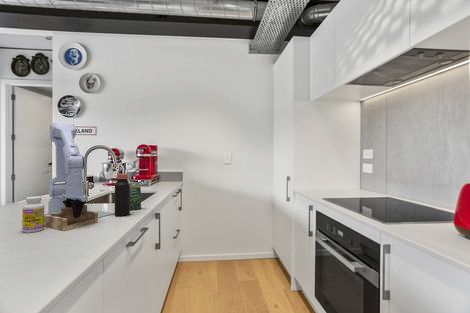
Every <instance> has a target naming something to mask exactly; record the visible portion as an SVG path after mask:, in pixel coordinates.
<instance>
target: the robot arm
mask: <svg viewBox="0 0 470 313" xmlns="http://www.w3.org/2000/svg"><path fill="white" fill-rule="evenodd" d="M77 131H78V129H77V126H76V125H75V124H69V123H67V124H66V123H58V122H57V123H56V122H51V123H50V126H49V139H50V141H51V142H53V143H54V147H55V177H53V178H52V179H50V180H49V182H48V189H47V190H48V196H49V197H50V198H49V200H48V208H47V210H48V211H47V214H46V215H50V214H51V213H55V212H60V211H61V208H66V207H72V208H73V215H74V218H78V217H80V215H81V211H82V208H83V206H84V205H86V203H87V202H88V201H89V196H88V195H86V194H85V193H83V181H84V179H83V176H84V175H83V173H84V172H83V170H84V169H85V167H86V166H85V164H86V163H85V162H86V161H85V156H84V155H82V154H81V151H80V149H79V147H78V145H77V144H75V140H74V139H75V138H76V136H77Z"/></svg>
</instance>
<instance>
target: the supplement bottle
mask: <svg viewBox="0 0 470 313" xmlns="http://www.w3.org/2000/svg"><path fill="white" fill-rule="evenodd" d="M41 201H42V196H40V195H39V196H28V197H26V198H25V202H26V204H24V205H23V206H22V215H21V216H22V226H21V228H22V229H21V230H22V232H23V233H29V234H30V233H35V232H36V233H38V232H40V231H43V230H44V229H45V227H44V214H45V204H44V203H43V202H41Z"/></svg>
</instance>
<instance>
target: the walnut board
mask: <svg viewBox="0 0 470 313" xmlns="http://www.w3.org/2000/svg"><path fill="white" fill-rule="evenodd" d="M87 210H88V205H86V204H84V206H83V208H82V211H81V215H80V217H78V218H74V215H73V208H72V207H66V208H61V218H66V219H67V226H68V225H72V224H76V223H81V222H85V221H87Z"/></svg>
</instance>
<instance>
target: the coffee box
mask: <svg viewBox="0 0 470 313" xmlns="http://www.w3.org/2000/svg"><path fill="white" fill-rule="evenodd" d="M141 198H142V190H141V185H140V184H136V185H133V184H132V185H130V211H136V210H137V211H139V210H141V209H142V199H141Z"/></svg>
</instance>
